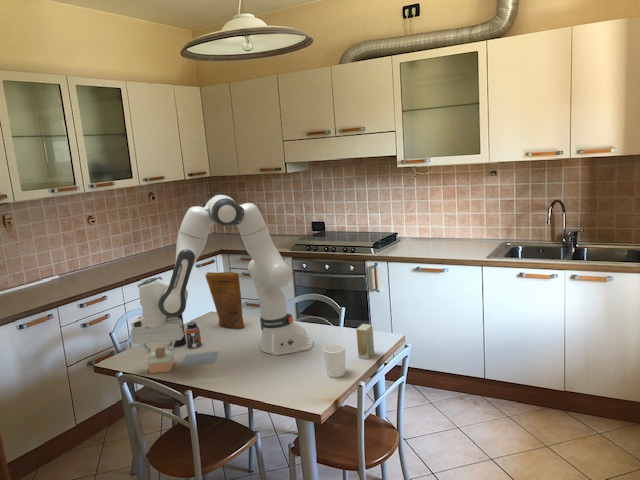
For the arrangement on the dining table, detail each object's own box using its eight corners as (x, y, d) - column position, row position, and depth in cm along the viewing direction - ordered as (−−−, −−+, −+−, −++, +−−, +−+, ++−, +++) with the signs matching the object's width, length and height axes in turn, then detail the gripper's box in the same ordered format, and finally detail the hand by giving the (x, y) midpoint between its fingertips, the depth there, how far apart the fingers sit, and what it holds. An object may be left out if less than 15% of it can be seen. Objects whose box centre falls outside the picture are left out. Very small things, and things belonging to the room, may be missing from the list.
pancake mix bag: (241, 331, 247) (234, 274, 241) (210, 327, 256) (203, 271, 251) (250, 326, 252) (243, 270, 247) (220, 322, 262) (213, 268, 257)
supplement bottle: (198, 349, 229) (194, 325, 227) (185, 349, 230) (182, 325, 228) (203, 344, 235) (200, 320, 232) (191, 344, 236) (188, 320, 234)
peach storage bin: (174, 364, 216) (173, 353, 215) (170, 373, 208) (168, 361, 207) (155, 366, 215) (153, 355, 214) (150, 374, 207) (148, 363, 206)
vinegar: (187, 346, 234) (181, 303, 231) (172, 349, 232) (166, 306, 228) (184, 341, 240) (178, 299, 237) (169, 344, 238) (163, 302, 234)
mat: (219, 352, 224) (218, 351, 224) (214, 364, 212) (214, 363, 212) (186, 355, 223) (185, 354, 223) (180, 367, 212) (179, 366, 212)
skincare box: (365, 351, 212) (362, 323, 209) (374, 353, 210) (372, 324, 207) (357, 358, 206) (355, 328, 204) (367, 359, 204) (365, 330, 202)
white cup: (334, 367, 200) (332, 342, 198) (351, 371, 195) (349, 346, 193) (321, 375, 194) (319, 350, 192) (338, 380, 189) (336, 354, 187)
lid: (174, 352, 215) (173, 343, 214) (169, 361, 206) (168, 352, 205) (152, 354, 215) (151, 345, 214) (146, 363, 206) (145, 354, 205)
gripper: (183, 313, 211) (187, 346, 213) (131, 318, 210) (137, 351, 213) (179, 319, 205) (184, 352, 207) (126, 324, 204) (132, 357, 207)
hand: (160, 351), depth 210 cm, fingers open, 8 cm apart
